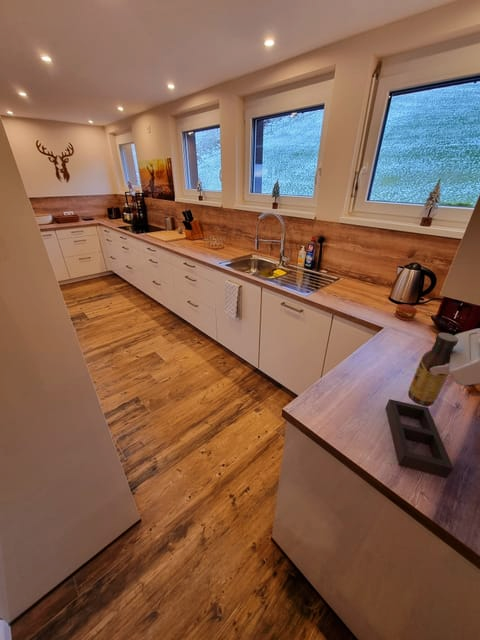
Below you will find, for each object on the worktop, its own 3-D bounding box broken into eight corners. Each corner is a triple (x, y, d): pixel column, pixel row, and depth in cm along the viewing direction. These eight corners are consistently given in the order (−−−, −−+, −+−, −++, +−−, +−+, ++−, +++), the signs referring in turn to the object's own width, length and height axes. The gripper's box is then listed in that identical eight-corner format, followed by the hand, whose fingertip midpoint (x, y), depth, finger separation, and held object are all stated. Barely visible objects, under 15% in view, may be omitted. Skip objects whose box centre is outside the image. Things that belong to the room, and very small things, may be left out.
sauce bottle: (412, 387, 75) (438, 326, 66) (437, 400, 70) (468, 337, 61) (402, 397, 71) (428, 334, 62) (427, 411, 67) (460, 346, 58)
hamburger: (408, 323, 133) (413, 311, 129) (390, 315, 140) (394, 304, 136) (417, 318, 138) (422, 307, 134) (399, 311, 144) (403, 300, 141)
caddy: (423, 416, 80) (428, 407, 78) (446, 478, 64) (453, 468, 62) (385, 408, 83) (389, 398, 81) (398, 465, 66) (404, 455, 64)
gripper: (491, 315, 63) (429, 336, 73) (499, 353, 49) (420, 373, 59) (506, 337, 63) (442, 355, 73) (519, 382, 49) (436, 397, 58)
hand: (432, 363), depth 66 cm, fingers closed on sauce bottle, 6 cm apart
